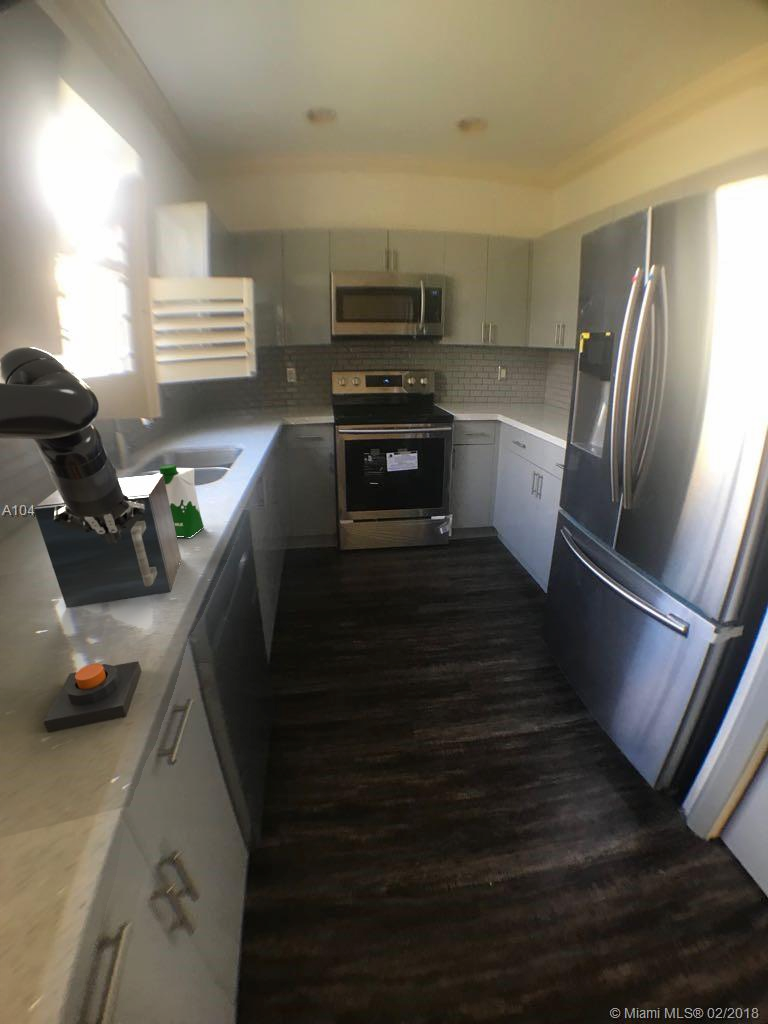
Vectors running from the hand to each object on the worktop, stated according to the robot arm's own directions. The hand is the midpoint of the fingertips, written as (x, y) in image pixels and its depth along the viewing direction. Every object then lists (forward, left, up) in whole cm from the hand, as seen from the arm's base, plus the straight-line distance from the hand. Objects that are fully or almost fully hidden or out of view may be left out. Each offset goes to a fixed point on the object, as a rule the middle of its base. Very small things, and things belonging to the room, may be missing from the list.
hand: (113, 538), depth 79 cm
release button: (-2, -18, -15) cm, 24 cm away
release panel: (-2, -18, -19) cm, 26 cm away
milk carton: (+3, +47, -19) cm, 51 cm away
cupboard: (-6, +22, -19) cm, 30 cm away
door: (-6, +11, -19) cm, 23 cm away
